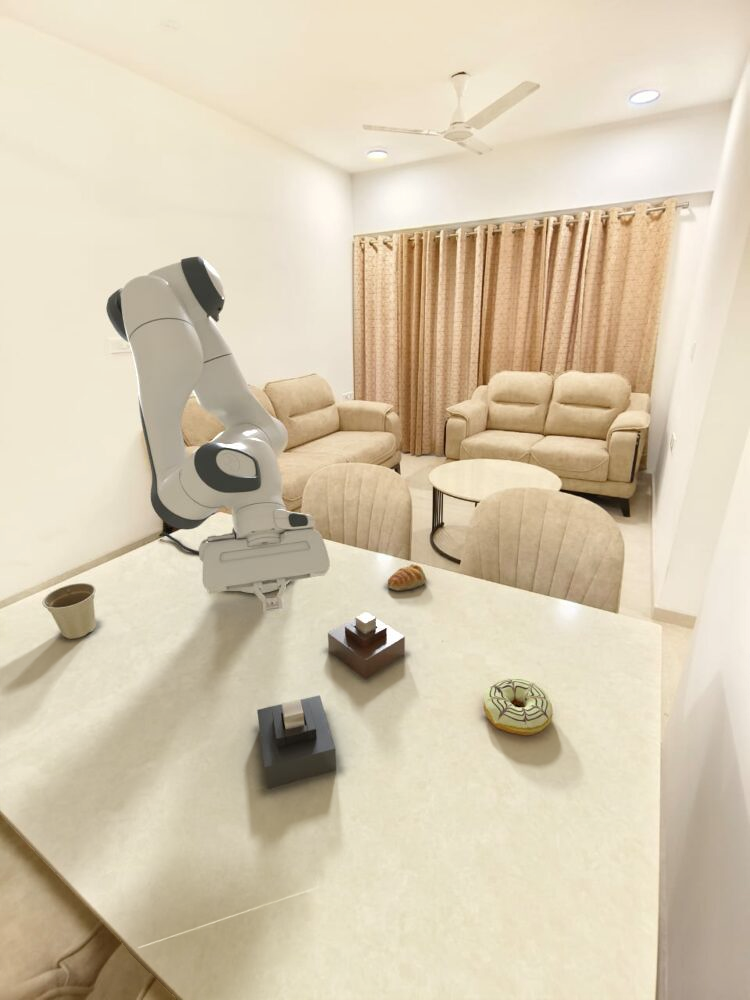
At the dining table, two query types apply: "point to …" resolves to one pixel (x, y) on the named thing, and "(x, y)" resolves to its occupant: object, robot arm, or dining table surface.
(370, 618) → the back key
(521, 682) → the decorated donut
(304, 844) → the dining table surface
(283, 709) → the front key
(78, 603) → the flower pot
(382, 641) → the walnut key block
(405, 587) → the pastry
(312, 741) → the black key block
